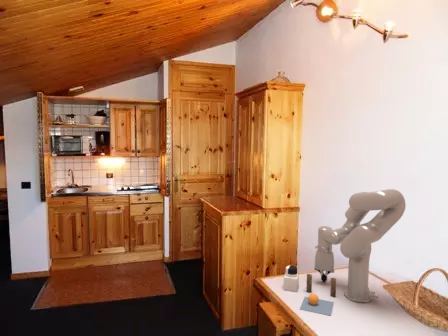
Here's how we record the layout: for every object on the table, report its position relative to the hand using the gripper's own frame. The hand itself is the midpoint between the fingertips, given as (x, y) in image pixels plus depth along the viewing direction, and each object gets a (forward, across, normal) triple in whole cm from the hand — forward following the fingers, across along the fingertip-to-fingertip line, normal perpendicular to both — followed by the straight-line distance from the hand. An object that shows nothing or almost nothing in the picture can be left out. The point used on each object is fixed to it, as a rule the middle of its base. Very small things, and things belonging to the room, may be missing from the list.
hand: (324, 281), depth 179 cm
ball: (-1, -2, -26) cm, 26 cm away
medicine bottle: (+2, -16, -13) cm, 20 cm away
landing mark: (+2, 0, -27) cm, 27 cm away
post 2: (+2, +6, -13) cm, 14 cm away
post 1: (+2, -6, -13) cm, 14 cm away
